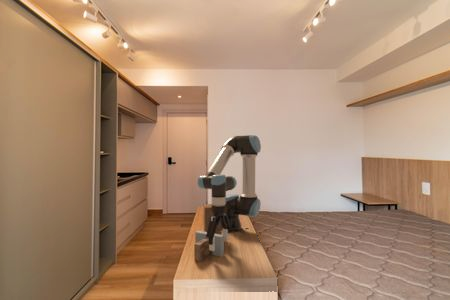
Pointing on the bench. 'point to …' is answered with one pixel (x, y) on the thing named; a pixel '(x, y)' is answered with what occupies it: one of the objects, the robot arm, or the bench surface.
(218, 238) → the notched plate
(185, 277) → the bench surface
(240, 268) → the bench surface
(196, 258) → the slotted beam
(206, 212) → the wooden block
